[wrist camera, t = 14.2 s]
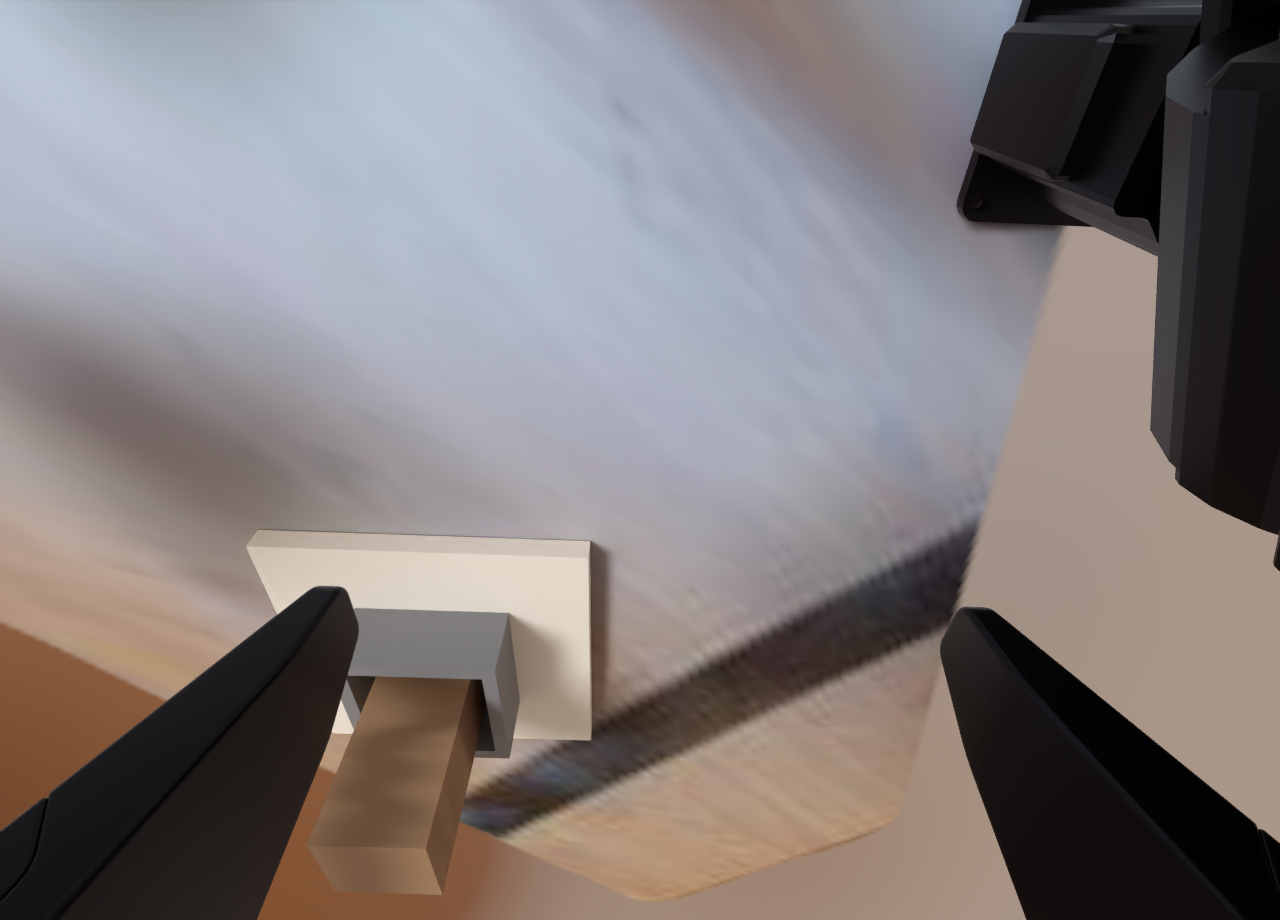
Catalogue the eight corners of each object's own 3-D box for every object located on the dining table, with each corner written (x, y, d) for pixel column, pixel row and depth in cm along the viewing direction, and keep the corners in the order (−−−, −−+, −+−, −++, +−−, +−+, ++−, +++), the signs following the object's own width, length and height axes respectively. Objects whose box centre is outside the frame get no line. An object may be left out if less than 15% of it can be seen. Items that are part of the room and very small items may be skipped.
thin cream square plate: (590, 541, 26) (582, 615, 23) (592, 723, 34) (586, 797, 31) (258, 529, 26) (202, 603, 22) (340, 716, 34) (308, 789, 31)
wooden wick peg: (482, 632, 28) (425, 848, 21) (491, 684, 30) (442, 894, 23) (394, 629, 28) (306, 845, 21) (410, 681, 30) (335, 891, 23)
